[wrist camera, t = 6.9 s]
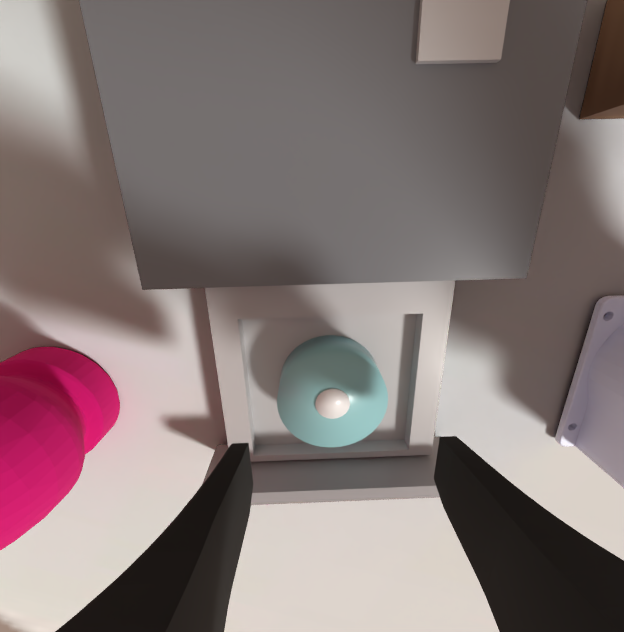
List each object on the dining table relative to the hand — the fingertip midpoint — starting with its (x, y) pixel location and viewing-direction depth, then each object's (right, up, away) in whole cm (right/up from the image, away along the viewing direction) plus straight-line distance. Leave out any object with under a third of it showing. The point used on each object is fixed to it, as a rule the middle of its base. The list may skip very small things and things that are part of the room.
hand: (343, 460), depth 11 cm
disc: (0, +2, +5) cm, 5 cm away
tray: (0, +3, +5) cm, 6 cm away
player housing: (-1, +15, +1) cm, 15 cm away
